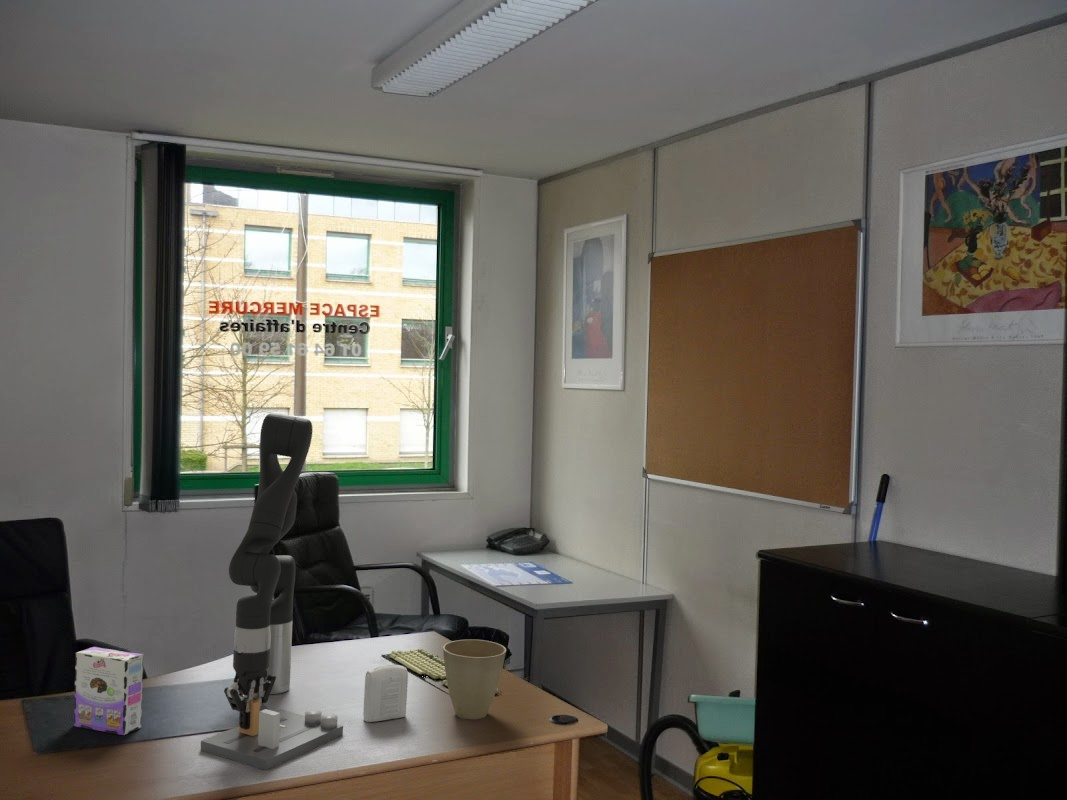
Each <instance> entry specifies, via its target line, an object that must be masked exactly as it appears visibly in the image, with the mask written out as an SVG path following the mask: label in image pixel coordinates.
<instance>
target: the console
mask: <svg viewBox="0 0 1067 800" xmlns="http://www.w3.org/2000/svg"><path fill="white" fill-rule="evenodd" d="M343 735H344V725H342V724H338V715H336V714H334V713H327V714H322V711H321V710H318V709H310V710H306V711H305V712H304V715H303V714H299V713H296V712H292V711H288V710H284V709H278V710H275V711H274V710H271V709H267V708H265V709H262V710H260V711H259V734H257V735H254V736H251V735H247V734H244V733H240V732H239V725H238V726H236V727H232V728H229V729H227V730H225V731H222V732H220V733H217V734H215V735H213V736H210V737H208V738H207V737H206V738H205V739H203V740H200V751H202V752H205V753H208V754H211V755H215V756H218V757H222V758H225V759H227V760H231V761H235V762H238V763H241V764H245V765H248V766H251V767H254V768H258V769H261V770H264V771H267V770H269V769H272V768H273V767H276V766H278V765H281V764H283V763H285V762H287V761H289V760H291V759H294V758H296V757H297V756H298V757H299V756H300V755H302V754H304V753H306V752H309V751H311V750H312V749H315V748H317V747H319V746H321V745H323V744H326V743H329V742H331V741H333V740H335V739H336V738H340V737H341V736H343Z"/></svg>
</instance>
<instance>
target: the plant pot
mask: <svg viewBox="0 0 1067 800" xmlns="http://www.w3.org/2000/svg"><path fill="white" fill-rule="evenodd" d="M442 651H443V652H442V653H443V660H444V664H445V672H446V678H447V684H448V687H447V688H448V693H449V694H450V695H449V697H450V700H451V704H452V707H453V711H454V713H455V715H456V716H457V717H458V718H461V719H465V720H481V719H483V718H485V717H486V716H487V714H488V712H489V711H490V710H489V709H490V708H491V706H492V702H493V700H494V697H495V696H496V695H495V692H496V689H497V688H498V686H499V683H500V679H501V677H502V673H503V668H504V662H505V658H506V653H507V648H506V647H505V646H504V645H502V644H500V643H498V642H493V641H491V640H490V641H489V640H484V639H459V640H457V639H456V640H453V641H449V642H447V643H445V644H444V645H443V646H442Z"/></svg>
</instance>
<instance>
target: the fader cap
mask: <svg viewBox="0 0 1067 800" xmlns="http://www.w3.org/2000/svg"><path fill="white" fill-rule="evenodd" d="M244 706H245V701H244ZM259 711H261V708H260V701H258V700H254V699H253V700H252V701H251V707H250V712H251V713H250V728H249V729H247V730H245V729H242V728H241V727H240V725H239V724H238V726H239V732H240V733H244V734H247V735H251V736H254V735H257V734H259ZM239 715H240V712H239ZM239 715H238V716H239ZM239 720H240V719H238V721H239Z"/></svg>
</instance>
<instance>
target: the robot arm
mask: <svg viewBox="0 0 1067 800" xmlns="http://www.w3.org/2000/svg"><path fill="white" fill-rule="evenodd" d="M259 434H260V436H259V461H260V462H259V481H258V489H257V497H256V501H255V503H254V506H253V508H252V513H251V516H250V521H249V525H248V527H247V528H248V529H247V530H246V533H245V535H244V537H243V538H242V540H241V542H240V543H239V546H238V547H237V549H236V550H235V552H234V553H233V556H232V557H231V560H230V562H229V565H228V575H229V578H230V581H231V582H232V583H233V584H234V585H238V586H249V587H250V589H251V591H253V593H256V594H254V595H246V596H243V597H242V596H241V597H240V598H239V599H238V601H237V602H236V609H235V610H236V611H235V613H236V614H235V629H234V630H235V631H234V634H233V635H234V636H233V655H232V656H233V659H232V667H233V671H234V672H235V675H234V678H233V683H232V685H231V686H230V687H225V688H224V690H223V692H224V694H225V697H226V699H227V701H228V703H229V706H230V708H231V709H232V711H237V712H239V713H240V715H238V716H239V719H240V720H239V719H238V726H239V725H240V727H241V728H242V729H245V730H247V729H249V728H250V713H251V712H250V707H251V701H252V700H253V699H254V700H258V701H260V709H261V708H262V705H264V704H266V703H267V702H268V700H269V698H270V695H276V694H282V693H285V692H288V691H289V690H290V688H291V687H290V686H291V668H292V667H291V664H292V663H291V662H292V639H293V614H294V613H293V612H294V611H293V610H294V609H293V608H294V590H295V585H296V584H295V583H296V571H297V570H296V566H297V565H296V561H295V557H293V556H292V555H288V554H287V555H285V554H284V555H280V554H279V555H275V554H272V553H271V551H272V549H273V548H274V546H276V545H277V544H278V543H279V541H280V540H282V539H283V537H284V536H285V535H286V534H287V533H288V532H289V531H290V530H291V528H292V527H293V525H294V524H295V521H296V516H297V505H298V495H297V492H296V490H295V488H296V486H297V484H298V481H299V478H300V475H301V473H302V470H303V467H304V464H305V462H306V459H307V456H308V454H309V450H310V447H311V443H312V437H313V422H312V421H311V420H310V419H308V418H305V417H300V416H294V415H287V414H282V413H275V412H270V413H268V414H266V416H265V417H264V418H263V420H262V424H261V429H260V433H259ZM278 456H283V457H289V458H290V460H289V462H288V464H287V466H286V467H285V469H284V470H283V468H282V467H281V465H280V462H279V458H278ZM274 594H279V595H278V597H276V598H275V599H274ZM273 599H274V600H273ZM244 701H245V706H244Z"/></svg>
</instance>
